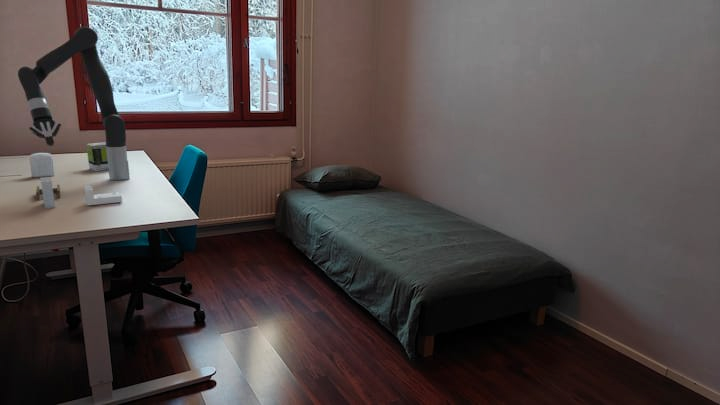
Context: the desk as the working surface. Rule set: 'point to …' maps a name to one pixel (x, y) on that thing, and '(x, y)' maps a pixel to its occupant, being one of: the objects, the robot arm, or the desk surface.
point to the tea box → (97, 156)
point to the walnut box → (55, 192)
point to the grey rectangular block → (47, 192)
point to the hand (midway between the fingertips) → (51, 145)
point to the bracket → (101, 197)
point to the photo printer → (41, 165)
